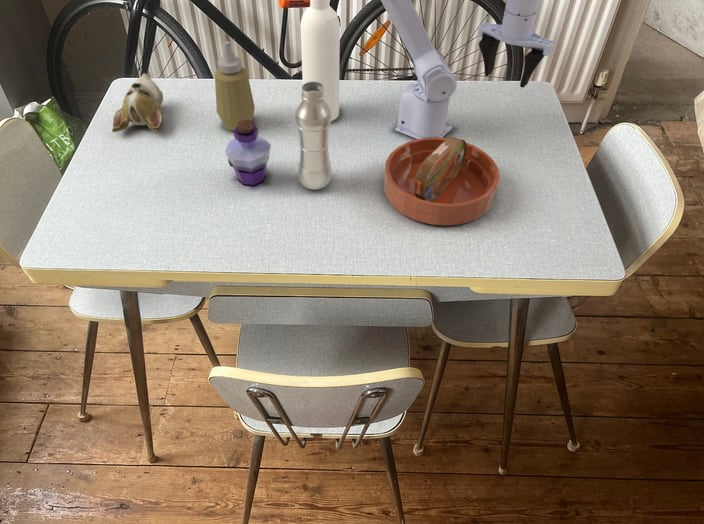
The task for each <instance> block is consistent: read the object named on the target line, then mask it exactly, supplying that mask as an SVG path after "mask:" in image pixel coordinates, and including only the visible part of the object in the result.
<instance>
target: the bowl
mask: <svg viewBox="0 0 704 524" xmlns="http://www.w3.org/2000/svg"><path fill="white" fill-rule="evenodd" d="M447 138H448V137H442V138H438V137H432V138H421V139H413V140H410V141H406V142H405V143H403V144H401V145H399V146H397V147H396V148H395V149H394V150H393V151H391V153H389V156H388V157H387V158H386V160H385V168H384V178H383V179H384V180H383V191H384V192H383V193H384V195H385V198H386V199H387V201H388V202H389V203H390V205H391V206H392V207H393V208H394V209H395V210H396V211H398V212H399V213H400V214H402V215H403V216H406V217H408V218H410V219H412V220H414V221H416V222H419V223H425V224H429V225H436V226H455V225H456V226H457V225H462V224H465V223H470V222H473V221H475V220H476V219H478V218H480V217H481V216H483V215H485V214H486V213H487V212H488V211H489V210H490V208H491V207H493V202H494V200H495V198H496V197H495V196H496V193H497V190H498V186H499V182H500V171H499V170H500V169H499V167H498V165H497V163H496V162H495V160H494V159H493V158H492V157H491V156H490V155H489V154H488V153H487V152H486V151H484V150H482V149H480V148H479V147H478V146H476V145H474V144H471V143H470V142H469V143H468V142H466V146H467V150H466V156H465V160H464V163H463V166H462V168H461V170H460V172H459V174H458V175H457V177H456V178H455V179H454V181H453V182H452V183H451V184H450V185H449V186H448V187H447V188H446V189H445V190H444V191H443V192H442V193H441V194H440V195H439V196H438V197H437V198H436V199H435V200H434V201H433V202H430V201H425V200H422V199H419V198H417V197H416V196H415V178H416V175H417V172H418V170H419V167H420V166H421V164H422V162H423V161H424V160H425V159H426V158H427V157H428V156H429V155H430V154H431V153H432V152H433V151H434V150H435V149H436V148H437V147H438V146H439V145H440V144H441V143H443V142H444V141H445V140H446V139H447Z"/></svg>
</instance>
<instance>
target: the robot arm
mask: <svg viewBox="0 0 704 524" xmlns="http://www.w3.org/2000/svg"><path fill="white" fill-rule="evenodd" d="M380 2H381V3H382V5H383V7H384V9H385V11H386V13H387V15H388V16H389V18H390V20H391V22H392V25H393V26H394V28H395V30H396V31H397V34H398V35H399V37H400V39H401V41H402V43H403V45H404V47H405V48H406V50H407V51H408V54H409V56H410V58H411V59H412V62H413V72H414V74H415V76H416V78H417V81H416V83H410V84H408V85H407V86H406V87H405V89H404V90H403V91H402V93H401V96H400V100H399V106H398V108H399V109H398V118H397V126H396V127H395V131H396V132H398V133H401V134H403V135H406V136H409V137H410V138H413V139H415V140H417V139H421V138H432V137H438V138H445V136H446V135H447V134H448V133H449V132H451V130H452V129H453V126H452V125H449V124H447V123H446V122H447V116H448V111H449V106H450V100H451V99H450V98H451V97H452V96H453V94H454V93H455V91H456V89H457V85H458V80H457V77H456V76H455V74H454V73H453V72H452V69H450V67H449V65H448V64H447V61H446V59H445V56H444V55H443V54H442V52H441V51H439V50H437V49H436V48H435V46H434V45H433V42H432V40H431V38H430V35H429V34H428V32H427V30H426V28H425V26H424V24H423V22H422V20H421V18H420V16H419V14H418V12H417V9H416V8H415V5H414V3H413V1H412V0H380ZM540 3H541V0H506V2H505V8H504V12H503V17H502V22H501V24H497V23H488V22H482V23H480V24H479V25H478V28H477V34H476V35H477V37H481V39H480V40H479V41H478V48H479V49H480V52H481V55H482V61H483V65H484V67H483V68H484V76H485V77H489V76H490V75H492V74H493V71H494V68H495V63H496V57H497V54H498V50H499V46H500V43H501V42H503V43H504V44H507V45H509V46H510V45H512V46H518V47H521V48H525V49H529V50H530V51H529V52H527V53H526V55H524V66H523V72H522V76H521V79H520V84H519V87H520V88H525V87H526V86H527V85H528V84H529V82H530V79H531V77H532V75H533V73H534V72H535V70H536V68H537V67H538V65H539V64H540V63H541V62H542V60H543V58H545V56H547V57H548V56H550V55H551V54H552V53H553V51H554V47H555V41H554V40H550V39H548V38H546V37H545V36H542V35H540V34H538V33H536V32H534V28H535V23H536V21H537V16H538V11H539V7H540Z"/></svg>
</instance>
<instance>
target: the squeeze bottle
mask: <svg viewBox="0 0 704 524" xmlns="http://www.w3.org/2000/svg"><path fill="white" fill-rule="evenodd" d="M222 47H223V48H222V56H221V57H219V58H218V59H217V70H216V71H215V73H214V85H215V86H214V87H215V105H216V107H215V108H216V114H217V115H218V117H219V119H220V121H221V123H222V124H223V126H224V128H225V129H226V130H228V131H232V132H234V130H235V128H236V126H237V123H238V122H239V121H241V120H245V119H246V120H250V121H252V122H253V118H254V114H255V101H254V97H253V93H252V88H251V82H250V80H249V79H250V78H249V76H248V75H249V74H248V71H247V69H246V68H245V67H243V66H242V59H241V58H240V57H239V56H237V55H235V54H234V53H235V52H234V51H233V50H234V49H233V48H232V45H231V42H230V41H229V40H226V41H223V46H222Z"/></svg>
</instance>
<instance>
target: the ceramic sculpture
mask: <svg viewBox="0 0 704 524" xmlns="http://www.w3.org/2000/svg"><path fill="white" fill-rule="evenodd" d="M163 101H164V93H163V91H162V90H161V89H160V88H159V86H158V85H157V84H156V83H155V82H154V80H153V79H152V78H150V77H149V75H148V74H147V73H145V72H143V73H142V75H141V76H139V77H138V78H137V79H136V80H135V81H134V82H133V83H132V84H131V85H130V86H129V88H128V91H127V93H126V94H125V96H124V98H123V100H122V105H121V106H122V107H121V108H120V109H118V110H117V111H115V115H114V116H113V121H112V122H113V123H112V129H111V132H112V133H117V132H122V131H124V130H126V129H127V128H128V127H129V125H130V123H131V124H133V125H135V126H147V127H148V129H150V130H151V131H152V132H155V133H157V132H158V131H160V130H161V128H162V127H163V124H164V112H163V110H162V109H161V108H160V107H161V105H162V104H163Z"/></svg>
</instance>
